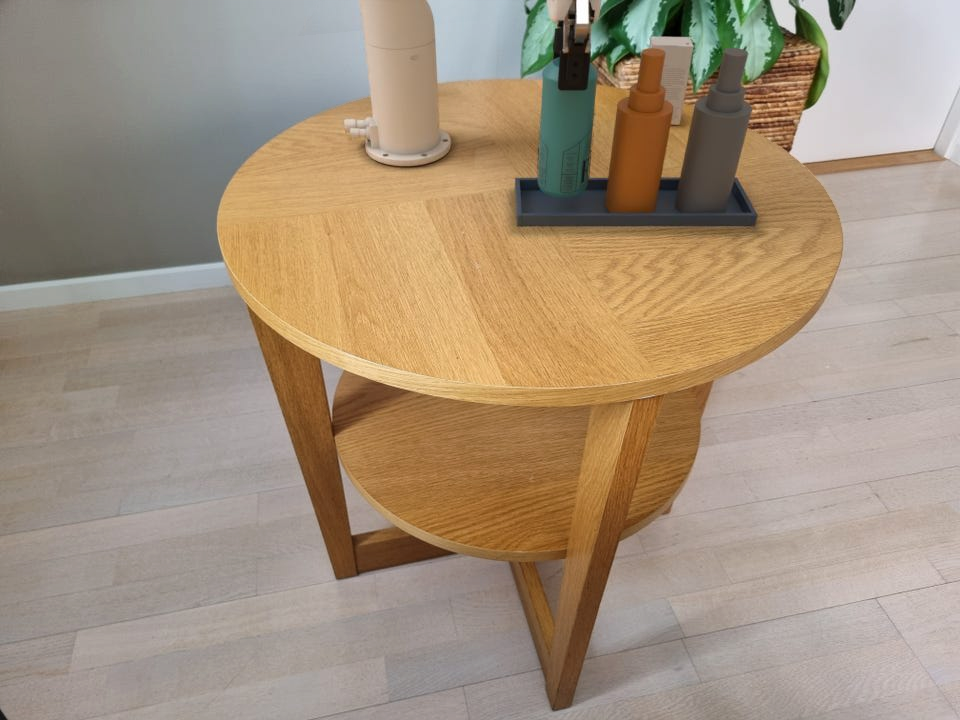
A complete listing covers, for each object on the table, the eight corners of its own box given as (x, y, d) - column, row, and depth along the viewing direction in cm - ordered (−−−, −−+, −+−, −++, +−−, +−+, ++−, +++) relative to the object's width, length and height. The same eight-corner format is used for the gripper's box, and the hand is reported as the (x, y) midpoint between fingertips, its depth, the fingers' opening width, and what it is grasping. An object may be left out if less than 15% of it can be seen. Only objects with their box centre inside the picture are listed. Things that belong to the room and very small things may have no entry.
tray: (516, 231, 86) (517, 215, 85) (514, 193, 94) (515, 177, 92) (753, 231, 86) (758, 215, 85) (732, 192, 93) (737, 177, 92)
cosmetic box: (677, 114, 112) (691, 36, 104) (679, 126, 109) (695, 46, 101) (638, 113, 113) (650, 35, 105) (640, 124, 110) (652, 44, 102)
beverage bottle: (584, 211, 86) (602, 40, 72) (531, 206, 87) (539, 37, 73) (589, 186, 90) (607, 21, 77) (538, 181, 91) (547, 18, 78)
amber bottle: (608, 219, 87) (628, 62, 74) (601, 193, 92) (620, 42, 79) (659, 219, 87) (689, 62, 74) (650, 193, 92) (677, 42, 79)
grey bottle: (680, 219, 87) (713, 62, 74) (670, 193, 92) (700, 42, 79) (732, 218, 87) (774, 61, 74) (719, 193, 92) (756, 41, 79)
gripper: (540, -127, 73) (532, 50, 85) (551, -97, 60) (540, 108, 72) (611, -128, 73) (594, 50, 85) (638, -97, 60) (613, 108, 72)
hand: (569, 75), depth 78 cm, fingers closed on beverage bottle, 6 cm apart
